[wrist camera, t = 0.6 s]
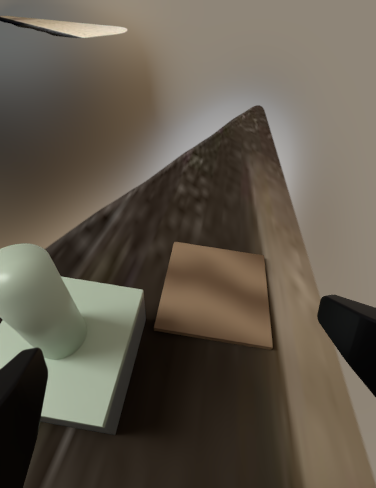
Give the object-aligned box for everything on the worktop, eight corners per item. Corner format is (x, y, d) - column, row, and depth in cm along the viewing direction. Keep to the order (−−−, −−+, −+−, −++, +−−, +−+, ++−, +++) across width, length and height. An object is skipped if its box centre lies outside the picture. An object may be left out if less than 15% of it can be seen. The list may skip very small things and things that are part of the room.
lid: (106, 429, 15) (60, 400, 8) (-35, 404, 15) (-197, 354, 8) (144, 299, 21) (135, 219, 14) (42, 283, 21) (-15, 196, 14)
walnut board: (270, 350, 23) (272, 347, 22) (153, 330, 23) (153, 327, 23) (262, 258, 30) (263, 255, 30) (174, 245, 30) (174, 241, 30)
